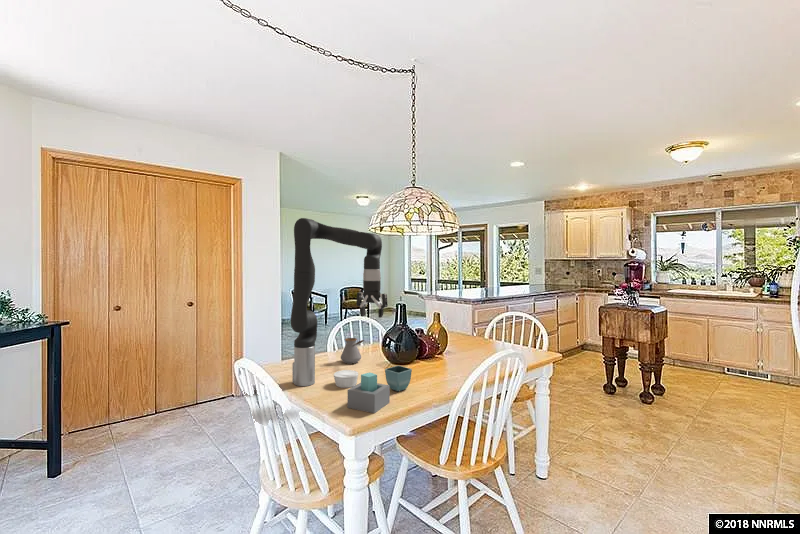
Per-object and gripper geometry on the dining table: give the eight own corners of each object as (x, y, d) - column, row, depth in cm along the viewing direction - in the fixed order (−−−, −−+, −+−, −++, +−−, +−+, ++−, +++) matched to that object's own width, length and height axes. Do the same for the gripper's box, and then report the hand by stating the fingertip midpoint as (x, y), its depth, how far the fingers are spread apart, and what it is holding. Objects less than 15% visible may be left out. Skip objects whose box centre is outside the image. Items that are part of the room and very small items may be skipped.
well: (347, 407, 150) (347, 389, 150) (363, 397, 161) (363, 381, 161) (374, 413, 145) (374, 394, 145) (389, 402, 156) (389, 385, 156)
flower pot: (384, 389, 172) (384, 368, 172) (398, 384, 178) (398, 365, 178) (397, 394, 166) (398, 373, 166) (412, 389, 172) (412, 369, 172)
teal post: (360, 402, 153) (360, 374, 153) (369, 399, 157) (369, 372, 156) (368, 405, 150) (368, 377, 150) (377, 402, 153) (377, 374, 153)
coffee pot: (337, 361, 219) (337, 334, 218) (355, 358, 225) (355, 332, 224) (353, 370, 200) (353, 341, 200) (373, 367, 207) (373, 339, 206)
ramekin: (334, 389, 171) (334, 377, 171) (332, 382, 182) (332, 370, 182) (360, 387, 174) (360, 376, 174) (356, 380, 185) (356, 369, 185)
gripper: (353, 279, 170) (353, 316, 170) (382, 280, 164) (382, 319, 164) (362, 278, 177) (362, 314, 177) (390, 279, 170) (390, 316, 171)
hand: (371, 316), depth 170 cm, fingers open, 8 cm apart
